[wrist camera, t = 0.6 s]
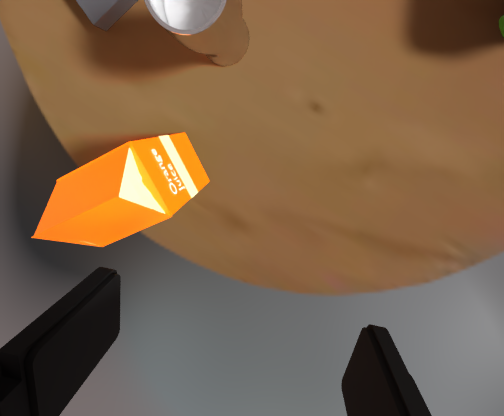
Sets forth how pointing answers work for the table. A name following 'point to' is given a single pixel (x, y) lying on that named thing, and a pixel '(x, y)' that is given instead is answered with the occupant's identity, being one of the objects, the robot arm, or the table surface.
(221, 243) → the table surface
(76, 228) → the orange juice
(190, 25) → the beer glass
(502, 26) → the snack cup
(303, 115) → the table surface
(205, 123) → the table surface
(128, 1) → the panel
